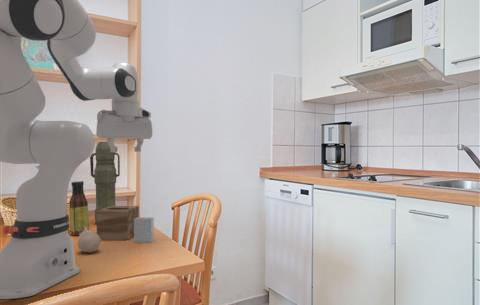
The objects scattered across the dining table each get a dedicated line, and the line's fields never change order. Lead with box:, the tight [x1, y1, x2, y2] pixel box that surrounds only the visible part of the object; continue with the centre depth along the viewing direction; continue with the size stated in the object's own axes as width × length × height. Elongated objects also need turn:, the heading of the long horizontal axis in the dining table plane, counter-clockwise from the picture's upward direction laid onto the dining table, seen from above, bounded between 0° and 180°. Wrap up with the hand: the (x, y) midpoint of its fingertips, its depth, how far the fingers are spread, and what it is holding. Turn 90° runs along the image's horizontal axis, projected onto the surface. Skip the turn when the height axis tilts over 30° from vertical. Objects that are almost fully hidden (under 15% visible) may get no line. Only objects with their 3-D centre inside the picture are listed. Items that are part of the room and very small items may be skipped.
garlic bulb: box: [77, 226, 102, 253], centre depth 101 cm, size 7×6×8 cm
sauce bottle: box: [69, 180, 90, 237], centre depth 122 cm, size 7×6×20 cm
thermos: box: [89, 141, 121, 226], centre depth 141 cm, size 9×12×35 cm
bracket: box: [133, 216, 155, 243], centre depth 112 cm, size 2×6×8 cm, turn 87°
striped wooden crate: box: [96, 205, 140, 241], centre depth 120 cm, size 11×11×10 cm
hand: (126, 152), depth 113 cm, fingers open, 8 cm apart
